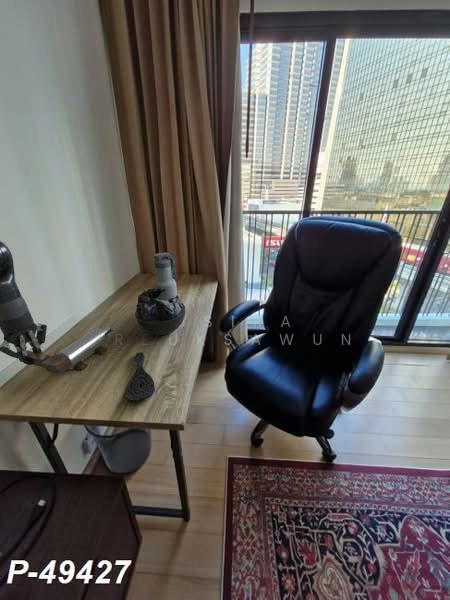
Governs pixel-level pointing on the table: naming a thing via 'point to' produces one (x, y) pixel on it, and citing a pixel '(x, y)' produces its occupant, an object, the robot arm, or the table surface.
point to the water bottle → (165, 275)
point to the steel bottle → (86, 347)
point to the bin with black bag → (159, 312)
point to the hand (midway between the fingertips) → (34, 360)
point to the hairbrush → (140, 382)
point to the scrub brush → (49, 361)
